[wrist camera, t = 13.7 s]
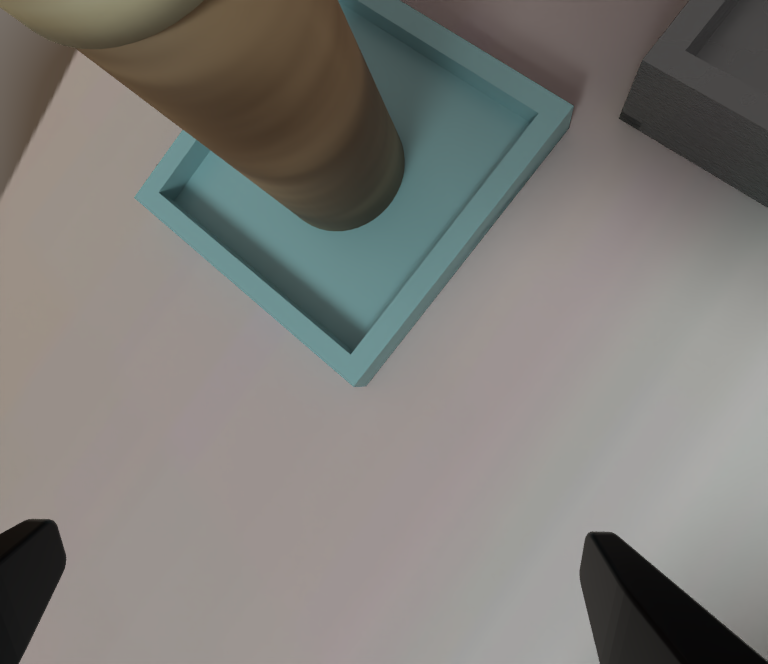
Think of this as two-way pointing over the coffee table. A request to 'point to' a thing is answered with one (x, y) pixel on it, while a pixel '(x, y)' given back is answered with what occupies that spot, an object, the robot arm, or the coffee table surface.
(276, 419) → the coffee table surface
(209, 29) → the canister
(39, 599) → the robot arm
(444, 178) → the tray
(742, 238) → the coffee table surface
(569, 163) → the coffee table surface
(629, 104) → the holder
